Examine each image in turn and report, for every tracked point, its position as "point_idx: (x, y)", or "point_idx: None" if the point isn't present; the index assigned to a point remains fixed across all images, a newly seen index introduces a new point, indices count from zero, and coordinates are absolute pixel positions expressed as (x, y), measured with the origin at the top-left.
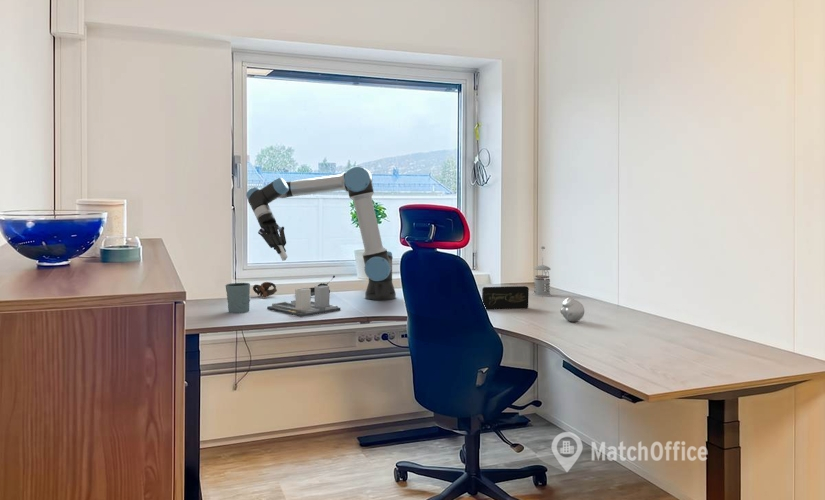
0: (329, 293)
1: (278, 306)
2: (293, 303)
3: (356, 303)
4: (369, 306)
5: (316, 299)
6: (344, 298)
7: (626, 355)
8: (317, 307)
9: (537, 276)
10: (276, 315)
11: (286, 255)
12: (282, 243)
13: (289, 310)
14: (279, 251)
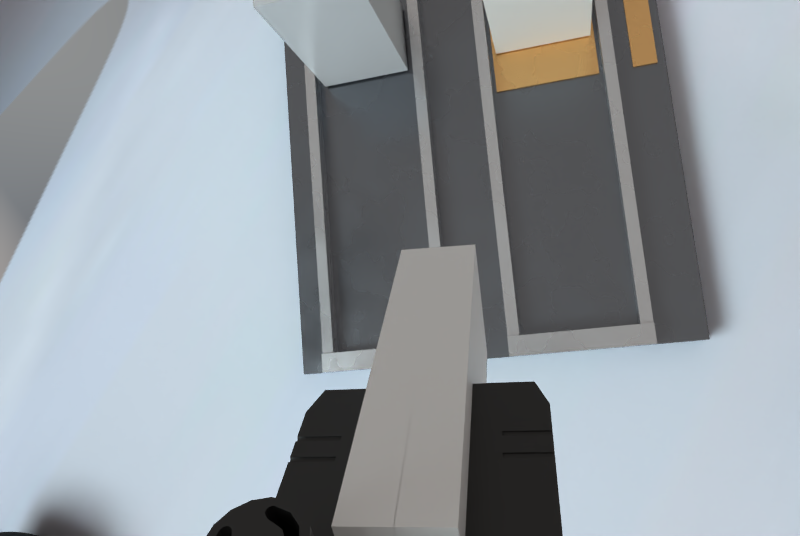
0: (3, 532)
1: (640, 242)
2: None
3: (69, 147)
4: (80, 6)
5: (389, 18)
6: (5, 374)
7: None
8: (418, 10)
9: None
10: (761, 47)
11: (406, 268)
12: (285, 530)
13: (637, 51)
14: (520, 397)
